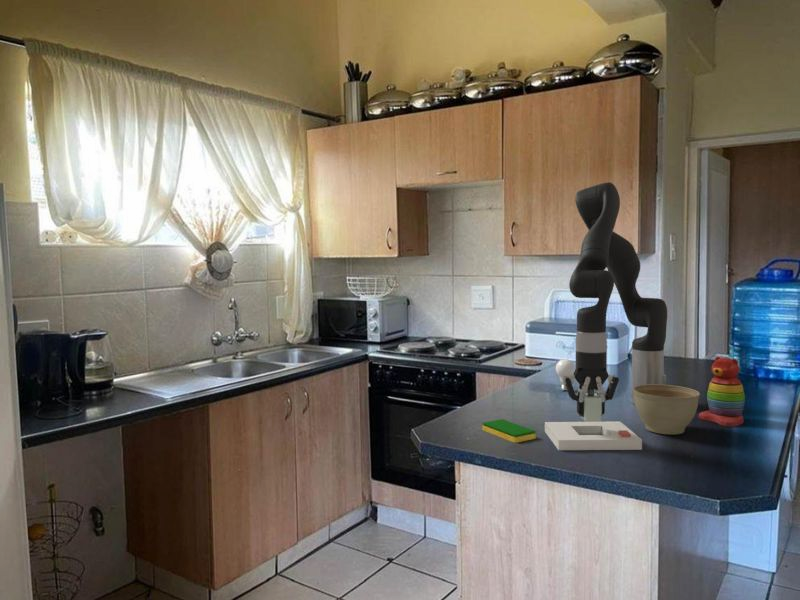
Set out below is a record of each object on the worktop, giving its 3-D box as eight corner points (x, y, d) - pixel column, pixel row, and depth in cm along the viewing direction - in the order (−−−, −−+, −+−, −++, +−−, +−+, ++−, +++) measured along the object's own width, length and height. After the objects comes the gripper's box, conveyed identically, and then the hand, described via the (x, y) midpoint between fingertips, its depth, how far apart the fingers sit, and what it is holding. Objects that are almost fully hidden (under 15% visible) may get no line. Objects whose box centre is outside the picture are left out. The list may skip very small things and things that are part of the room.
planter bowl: (694, 443, 153) (695, 400, 152) (627, 433, 161) (627, 393, 160) (702, 427, 166) (702, 387, 165) (639, 419, 175) (639, 381, 174)
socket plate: (619, 430, 164) (620, 418, 164) (641, 449, 148) (642, 436, 148) (544, 431, 165) (544, 419, 164) (558, 450, 149) (558, 436, 148)
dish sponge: (515, 444, 155) (515, 435, 155) (481, 431, 167) (481, 422, 167) (536, 439, 159) (536, 430, 158) (502, 427, 171) (502, 418, 170)
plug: (595, 416, 158) (596, 385, 158) (601, 421, 153) (601, 389, 153) (580, 416, 159) (580, 385, 158) (585, 421, 154) (585, 390, 153)
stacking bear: (694, 418, 175) (696, 356, 174) (720, 414, 179) (721, 353, 178) (728, 427, 165) (730, 362, 164) (754, 423, 169) (756, 359, 168)
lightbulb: (554, 392, 210) (554, 360, 209) (557, 388, 216) (557, 357, 215) (573, 393, 208) (573, 361, 207) (575, 389, 214) (575, 358, 213)
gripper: (614, 346, 158) (614, 412, 159) (559, 347, 159) (559, 412, 160) (624, 351, 151) (623, 419, 152) (566, 351, 151) (566, 420, 152)
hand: (590, 415), depth 156 cm, fingers closed on plug, 4 cm apart
